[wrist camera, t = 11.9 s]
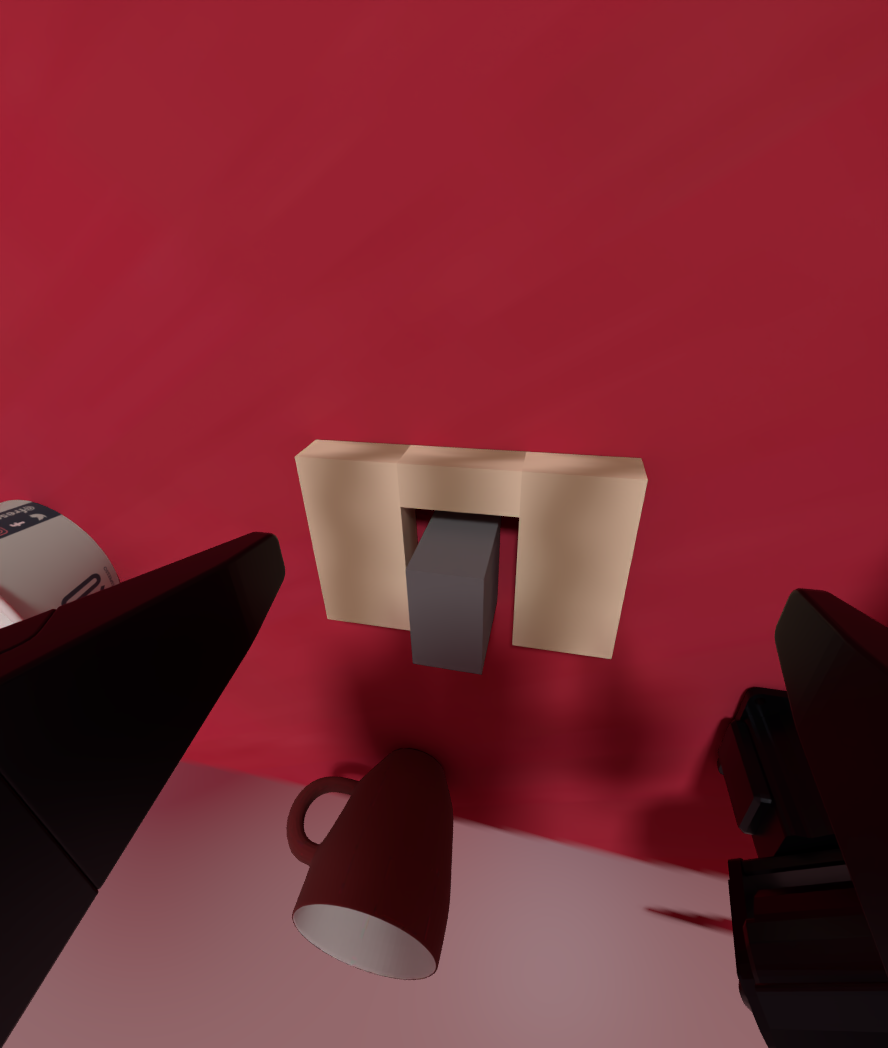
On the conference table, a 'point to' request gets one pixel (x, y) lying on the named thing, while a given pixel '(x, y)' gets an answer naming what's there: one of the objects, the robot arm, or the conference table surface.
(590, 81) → the conference table surface
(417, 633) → the grey block
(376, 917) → the mug
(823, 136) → the conference table surface
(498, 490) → the notch board
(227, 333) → the conference table surface
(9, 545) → the food container
